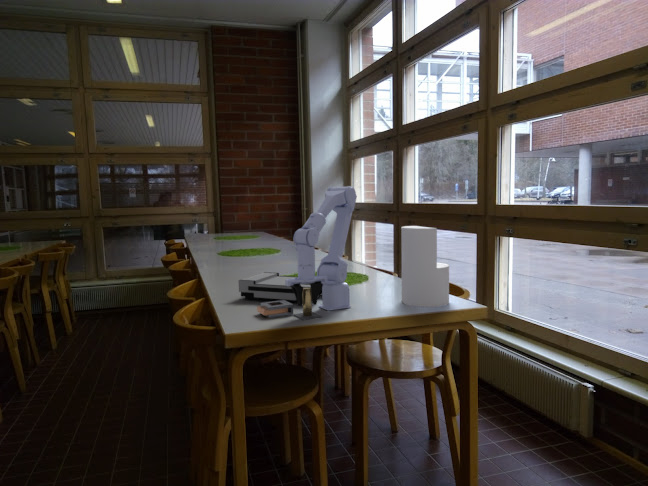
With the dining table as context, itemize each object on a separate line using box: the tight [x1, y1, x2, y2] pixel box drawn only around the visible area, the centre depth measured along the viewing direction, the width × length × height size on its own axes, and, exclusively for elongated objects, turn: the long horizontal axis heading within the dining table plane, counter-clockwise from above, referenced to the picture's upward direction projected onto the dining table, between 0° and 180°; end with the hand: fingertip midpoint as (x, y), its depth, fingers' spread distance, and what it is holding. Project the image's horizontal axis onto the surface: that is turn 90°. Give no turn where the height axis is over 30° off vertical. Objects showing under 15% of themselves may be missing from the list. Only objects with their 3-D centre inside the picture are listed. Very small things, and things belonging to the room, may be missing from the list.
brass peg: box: [302, 288, 313, 316], centre depth 153 cm, size 3×3×9 cm
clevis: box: [256, 300, 294, 319], centre depth 157 cm, size 10×8×4 cm
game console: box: [237, 271, 322, 305], centre depth 184 cm, size 21×32×8 cm, turn 67°
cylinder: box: [400, 225, 450, 308], centre depth 171 cm, size 17×17×28 cm
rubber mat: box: [293, 311, 322, 321], centre depth 154 cm, size 7×7×1 cm
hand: (307, 305), depth 153 cm, fingers open, 5 cm apart
